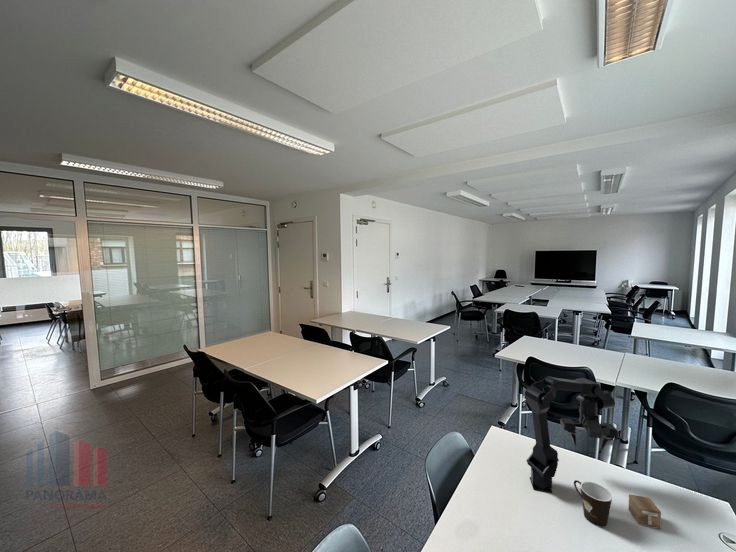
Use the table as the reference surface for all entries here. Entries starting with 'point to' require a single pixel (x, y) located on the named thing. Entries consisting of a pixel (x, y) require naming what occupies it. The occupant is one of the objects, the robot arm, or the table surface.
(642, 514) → the walnut letter cube
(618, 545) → the table surface
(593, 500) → the coffee mug
